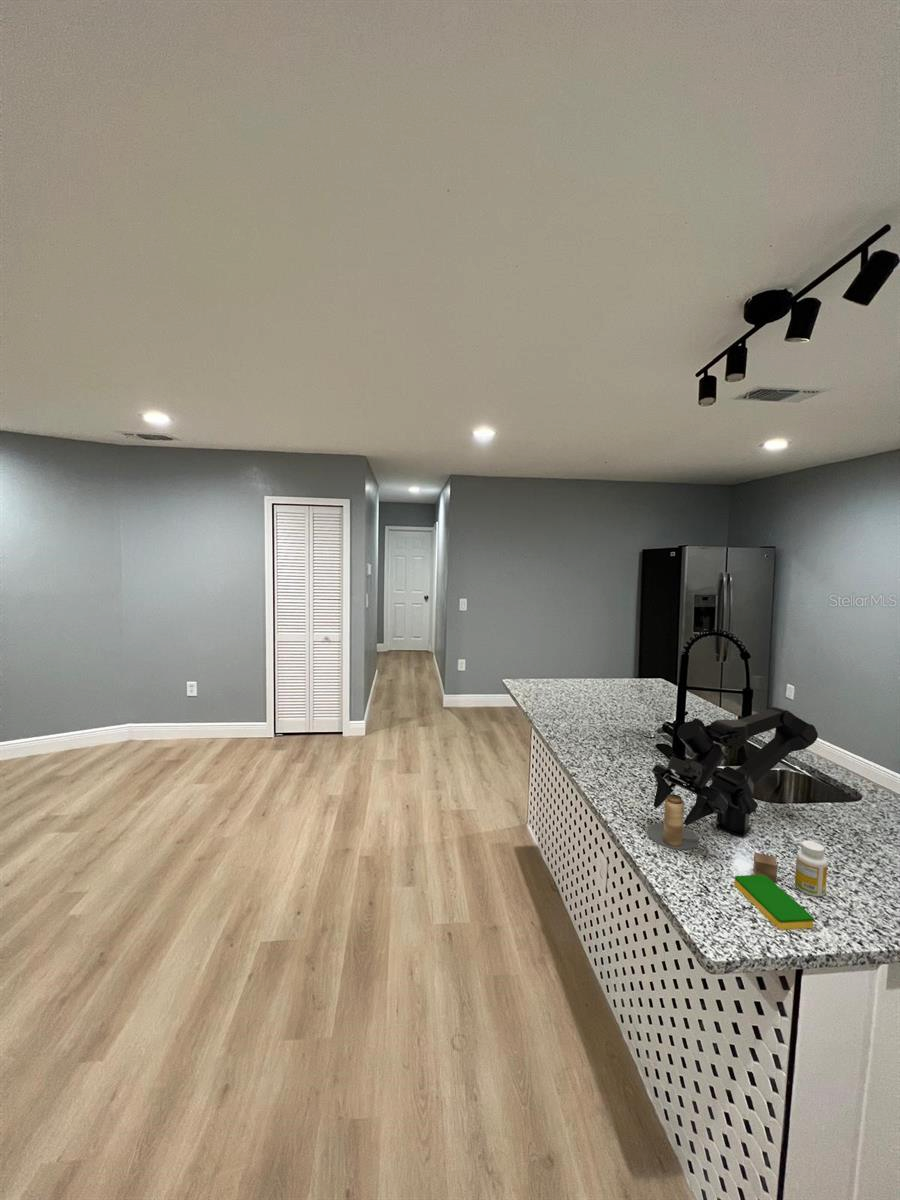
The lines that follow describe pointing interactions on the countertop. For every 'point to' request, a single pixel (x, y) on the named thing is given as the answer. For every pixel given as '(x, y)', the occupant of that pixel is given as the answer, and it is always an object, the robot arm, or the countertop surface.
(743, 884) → the dish sponge
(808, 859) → the supplement bottle
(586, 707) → the countertop surface
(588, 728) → the countertop surface
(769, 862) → the walnut block
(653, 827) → the slate coaster
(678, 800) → the brown cylinder
